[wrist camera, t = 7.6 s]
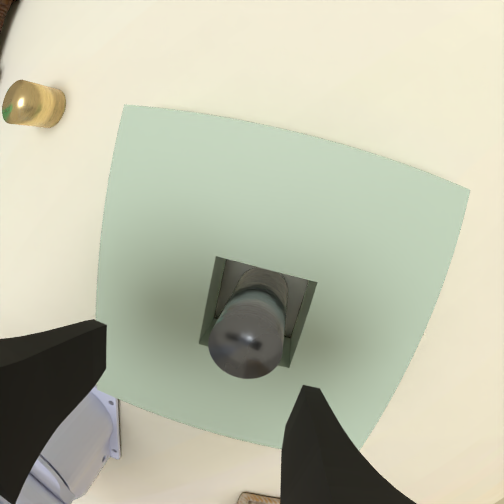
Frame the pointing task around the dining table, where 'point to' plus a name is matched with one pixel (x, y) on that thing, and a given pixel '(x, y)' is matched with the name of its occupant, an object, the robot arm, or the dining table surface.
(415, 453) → the dining table surface
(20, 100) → the short pin
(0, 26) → the bolt
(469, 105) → the dining table surface
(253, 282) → the tall pin
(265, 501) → the decorative jar
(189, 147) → the collar plate
